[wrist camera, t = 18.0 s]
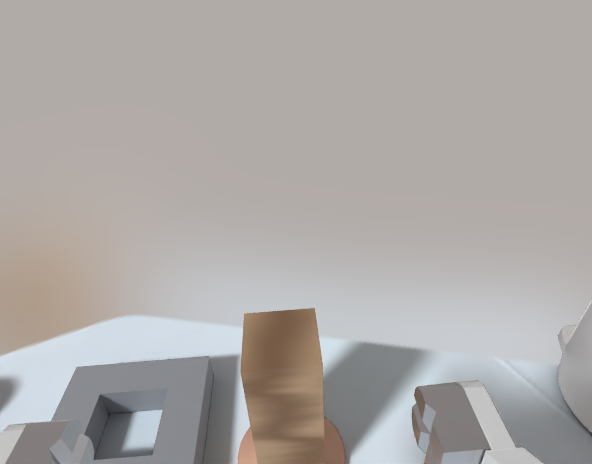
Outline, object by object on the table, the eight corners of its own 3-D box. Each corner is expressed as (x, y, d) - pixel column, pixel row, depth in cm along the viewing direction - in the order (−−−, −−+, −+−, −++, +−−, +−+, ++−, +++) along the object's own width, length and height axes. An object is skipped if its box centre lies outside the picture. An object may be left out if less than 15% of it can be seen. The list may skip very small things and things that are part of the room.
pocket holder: (213, 375, 43) (209, 356, 41) (195, 516, 32) (188, 497, 30) (86, 386, 42) (76, 366, 41) (24, 532, 31) (7, 513, 30)
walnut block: (318, 424, 37) (314, 308, 29) (325, 483, 33) (322, 364, 25) (262, 429, 37) (244, 313, 29) (262, 488, 33) (240, 371, 25)
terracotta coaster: (322, 398, 40) (322, 394, 39) (363, 493, 32) (363, 489, 32) (230, 427, 38) (229, 423, 37) (251, 535, 30) (250, 532, 30)
